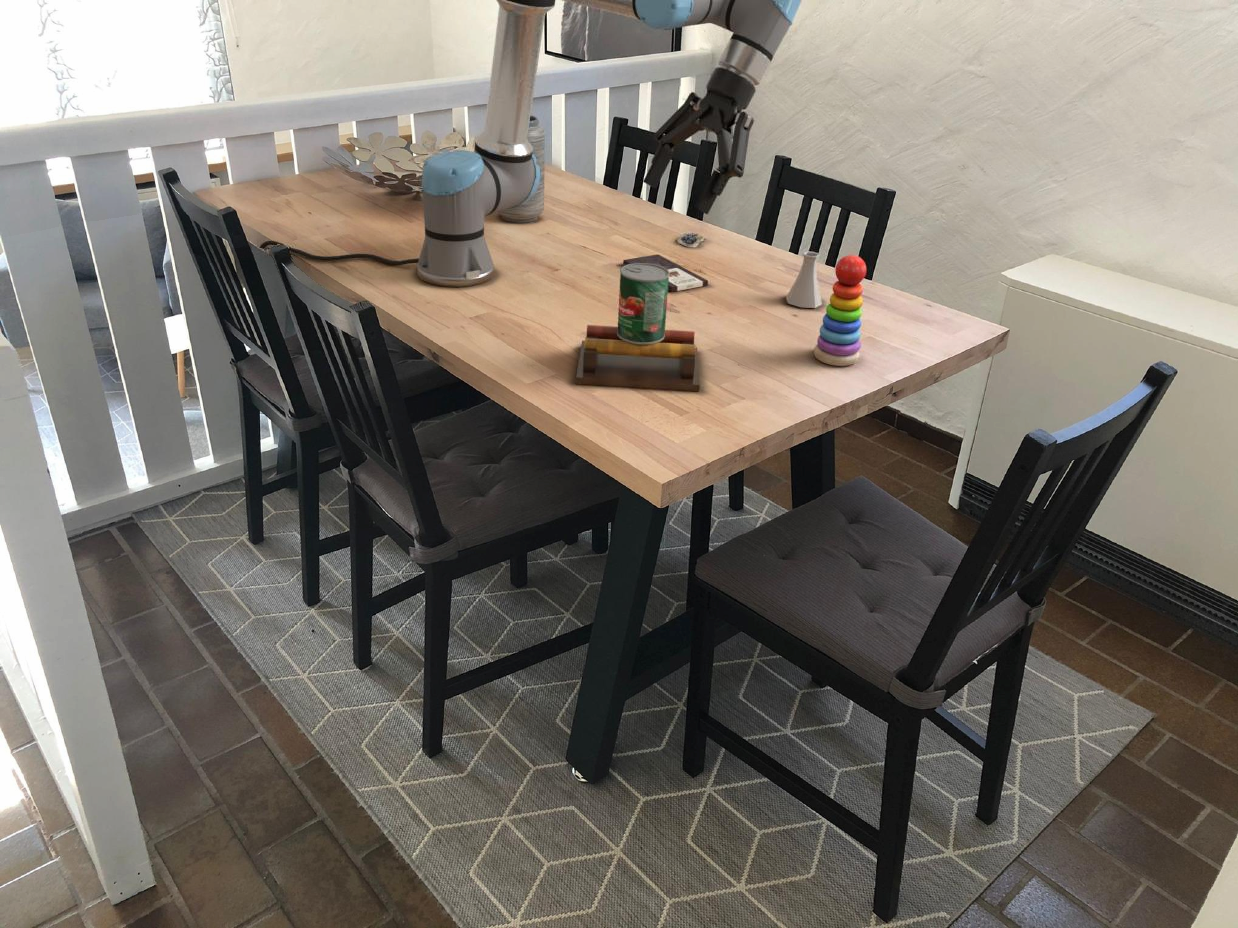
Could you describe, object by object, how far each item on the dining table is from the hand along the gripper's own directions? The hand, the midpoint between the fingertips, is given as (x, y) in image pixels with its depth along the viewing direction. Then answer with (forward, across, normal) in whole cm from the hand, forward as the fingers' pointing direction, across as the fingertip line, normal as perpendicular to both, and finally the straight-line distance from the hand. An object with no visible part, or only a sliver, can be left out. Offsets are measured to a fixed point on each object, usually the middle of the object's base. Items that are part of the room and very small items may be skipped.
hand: (674, 198), depth 163 cm
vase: (+19, +73, -29) cm, 81 cm away
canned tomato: (+22, -8, +1) cm, 24 cm away
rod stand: (+27, -9, -2) cm, 29 cm away
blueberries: (+5, +39, -50) cm, 63 cm away
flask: (+5, -1, -44) cm, 45 cm away
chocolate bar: (+13, +25, -32) cm, 43 cm away
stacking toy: (+11, -23, -31) cm, 40 cm away
